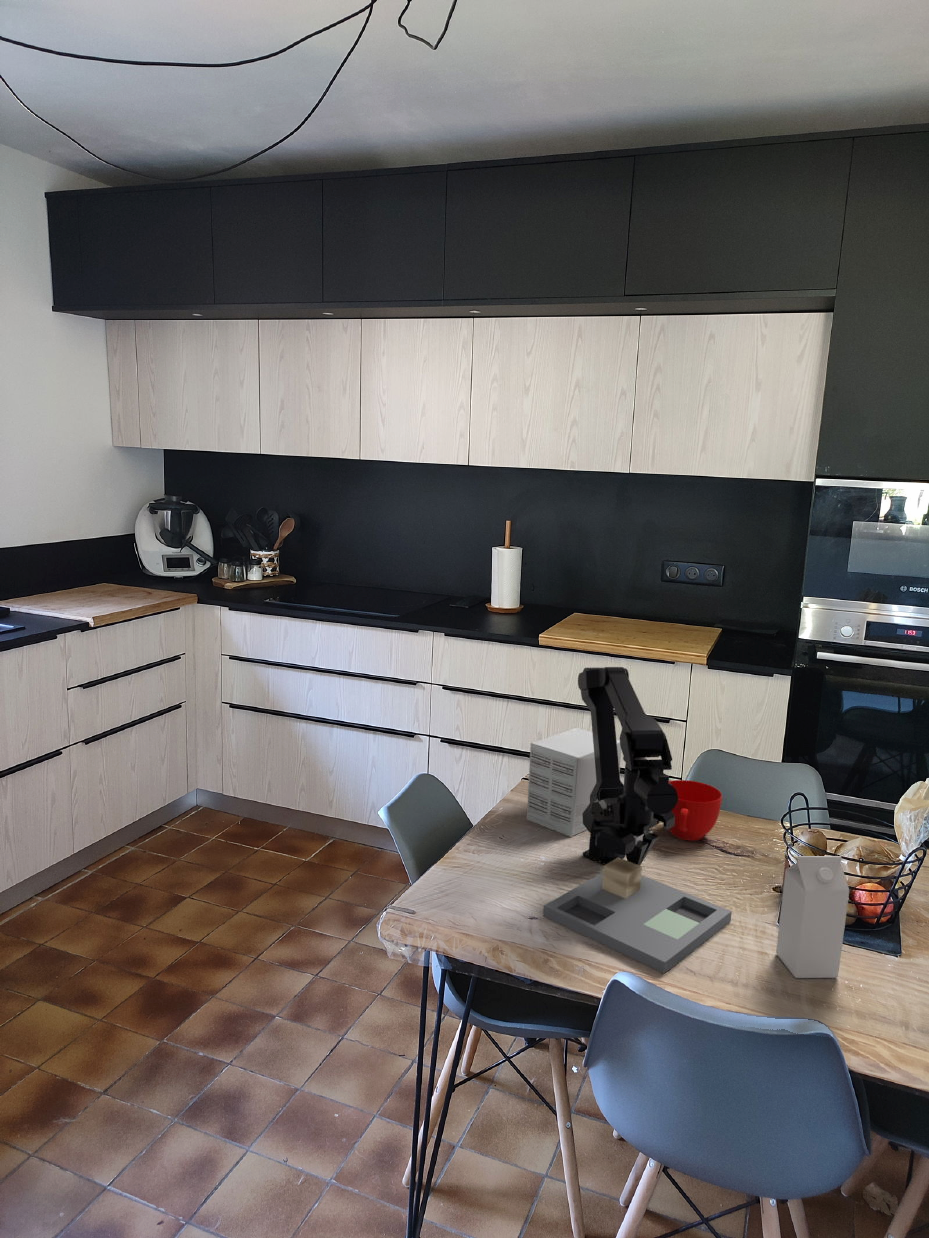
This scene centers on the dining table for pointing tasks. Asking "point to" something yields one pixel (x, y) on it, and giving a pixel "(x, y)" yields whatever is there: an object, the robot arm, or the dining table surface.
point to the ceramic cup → (695, 809)
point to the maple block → (621, 877)
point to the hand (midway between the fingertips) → (633, 871)
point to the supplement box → (562, 780)
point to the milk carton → (813, 917)
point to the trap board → (640, 920)
